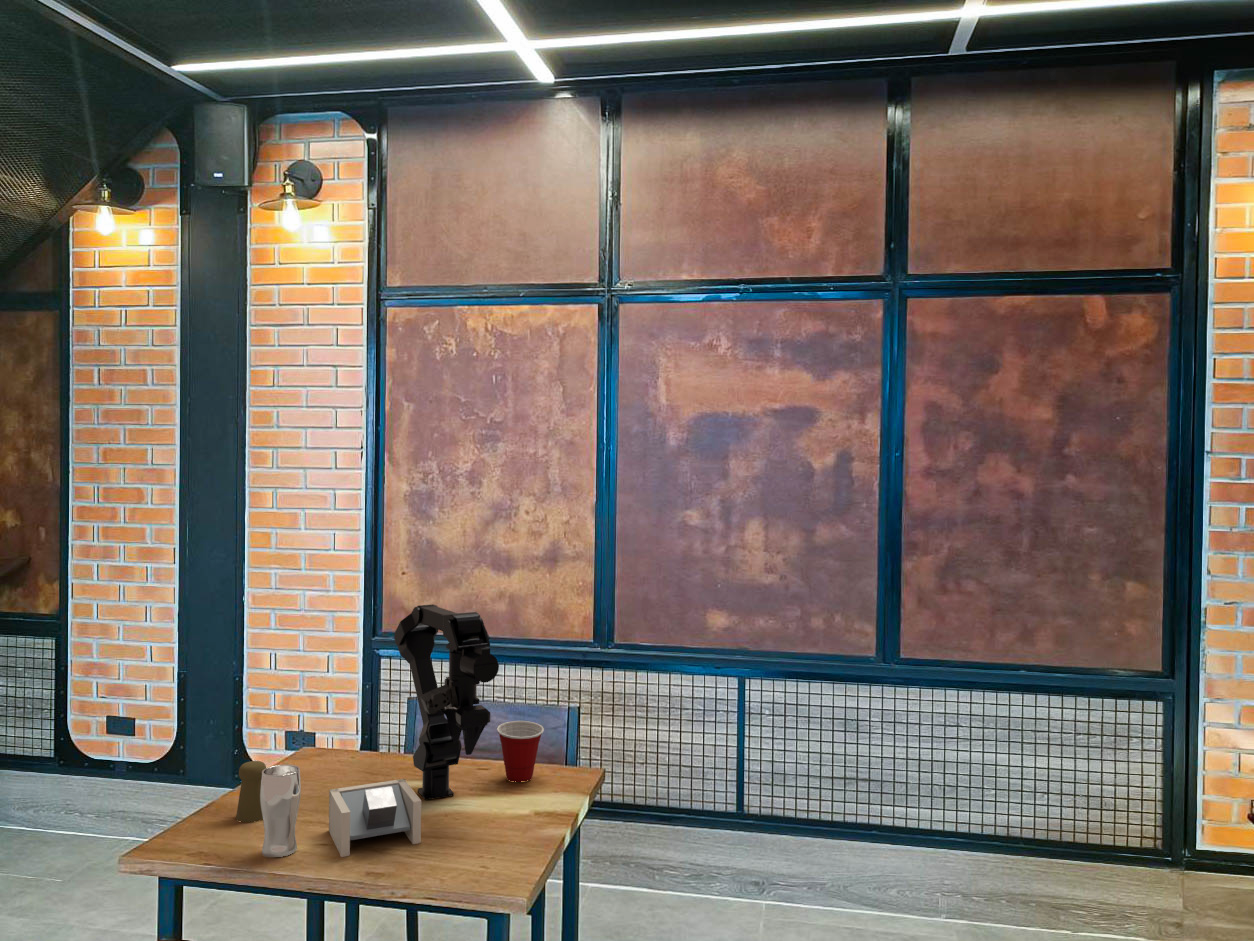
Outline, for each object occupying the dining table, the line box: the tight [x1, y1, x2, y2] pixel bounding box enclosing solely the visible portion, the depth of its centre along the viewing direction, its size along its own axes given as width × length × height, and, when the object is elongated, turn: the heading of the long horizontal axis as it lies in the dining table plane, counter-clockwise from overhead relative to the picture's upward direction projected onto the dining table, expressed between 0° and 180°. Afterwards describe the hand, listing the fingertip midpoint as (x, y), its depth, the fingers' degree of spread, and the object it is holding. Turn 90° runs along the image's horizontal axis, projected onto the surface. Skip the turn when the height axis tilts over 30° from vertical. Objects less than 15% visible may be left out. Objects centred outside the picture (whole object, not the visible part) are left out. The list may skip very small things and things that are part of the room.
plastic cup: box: [496, 720, 545, 783], centre depth 206 cm, size 11×11×12 cm
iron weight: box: [362, 786, 397, 830], centre depth 169 cm, size 5×5×5 cm
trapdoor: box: [341, 784, 410, 841], centre depth 172 cm, size 12×11×1 cm
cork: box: [235, 760, 267, 823], centre depth 181 cm, size 6×6×11 cm
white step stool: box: [328, 778, 422, 858], centre depth 172 cm, size 14×15×8 cm
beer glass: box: [260, 764, 302, 858], centre depth 165 cm, size 7×7×15 cm
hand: (461, 748), depth 186 cm, fingers open, 9 cm apart
